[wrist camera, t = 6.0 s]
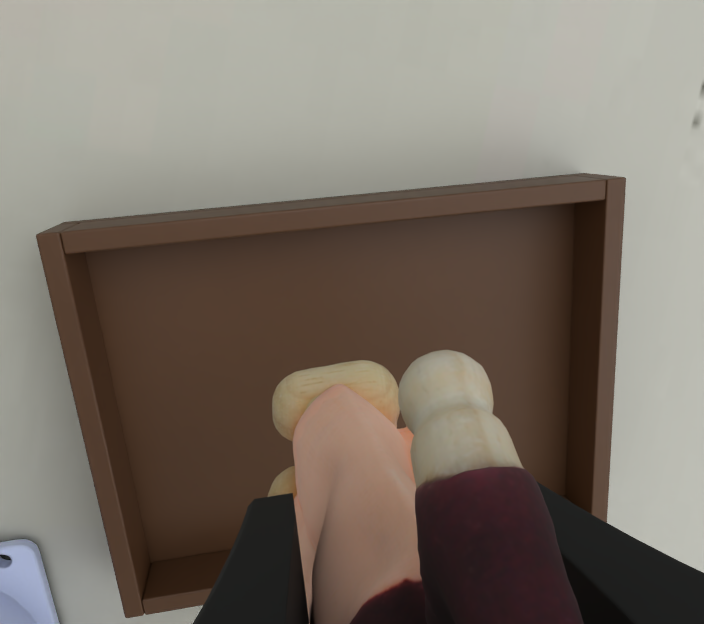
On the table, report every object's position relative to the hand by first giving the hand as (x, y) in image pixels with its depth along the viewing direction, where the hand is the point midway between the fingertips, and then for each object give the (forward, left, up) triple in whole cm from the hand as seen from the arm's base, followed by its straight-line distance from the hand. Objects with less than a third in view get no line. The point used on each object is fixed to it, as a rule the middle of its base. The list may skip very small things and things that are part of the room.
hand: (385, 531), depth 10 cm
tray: (+1, -2, -10) cm, 11 cm away
